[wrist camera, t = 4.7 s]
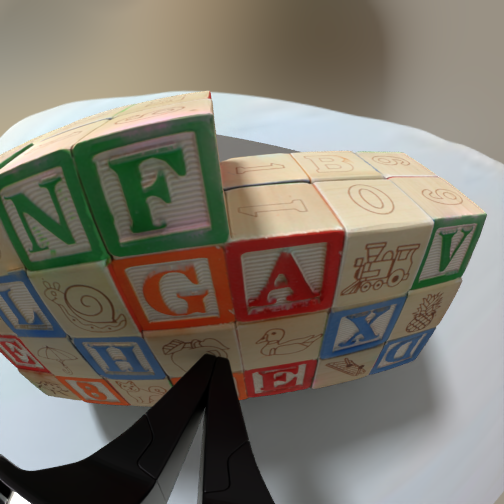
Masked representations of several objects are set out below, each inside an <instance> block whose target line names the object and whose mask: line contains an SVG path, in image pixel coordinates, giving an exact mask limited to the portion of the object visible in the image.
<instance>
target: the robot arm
mask: <svg viewBox="0 0 504 504" xmlns="http://www.w3.org/2000/svg"><path fill="white" fill-rule="evenodd" d="M205 407H206V408H205ZM204 411H205V415H204V424H203V435H202V446H201V458H200V471H199V484H198V499H197V504H275V503H274V501H273V499H272V497H271V495H270V493H269V491H268V489H267V487H266V484H265V482H264V480H263V478H262V476H261V474H260V471H259V469H258V466H257V464H256V461H255V458H254V455H253V452H252V448H251V445H250V441H248V440H249V438H248V434H247V430H246V427H245V423H244V419H243V415H242V411H241V407H240V403H239V399H238V395H237V391H236V387H235V382H234V378H233V374H232V370H231V365H230V361H229V359H228V358H225V357H220V356H218V357H216V356H215V355H212V354H208V353H205V354H204V355H203V356H202V357H201V358H200V359H199V360H198V361H197V362H196V363H195V364H194V365H193V366H192V367H191V368H190V369H189V370H188V371H187V372H186V373H185V374H184V375H183V376H182V377H181V378H180V379H179V380H178V381H177V382H176V383H175V384H174V385H173V386H172V387H171V388H170V389H169V390H168V391H167V392H166V393H165V394H164V395H163V396H162V397H161V398H160V399H159V400H158V401H157V402H156V403H155V404H154V405H153V406H152V407H151V408H150V409H149V410H148V411H147V412H146V415H145V414H144V415H143V416H142V417H141V418H140V419H139V420H138V421H137V422H136V423H135V424H133V425H132V426H131V427H130V428H129V429H128V430H126V431H125V432H124V433H123V434H121V435H120V436H119V437H117V438H116V439H114V440H113V441H112V442H110V443H109V444H107V445H106V446H104V447H103V448H101V449H100V450H98V451H97V452H95V453H94V454H92V455H91V456H89V457H87V458H85V459H83V460H81V461H78V462H75V463H71V464H67V465H62V466H58V467H53V468H47V469H42V470H36V471H26V470H22V469H20V468H19V467H17V466H16V465H15V464H13V463H12V462H11V461H9V460H8V459H7V458H5V457H4V456H3V455H1V454H0V504H167V501H168V499H169V497H170V494H171V492H172V490H173V487H174V485H175V482H176V480H177V478H178V475H179V473H180V470H181V468H182V465H183V463H184V461H185V458H186V456H187V453H188V451H189V448H190V446H191V443H192V441H193V438H194V436H195V434H196V431H197V429H198V426H199V424H200V421H201V419H202V416H203V413H204Z"/></svg>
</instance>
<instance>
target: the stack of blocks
mask: <svg viewBox="0 0 504 504" xmlns="http://www.w3.org/2000/svg"><path fill="white" fill-rule="evenodd" d="M486 216H487V214H486V213H485V212H484V211H483V210H482V209H481V208H480V207H478V206H477V205H476V204H475V203H474V202H472V201H471V200H470V199H469V198H467V197H466V196H465V195H464V194H463V193H461V192H460V191H459V190H458V189H456V188H455V187H454V186H453V185H451V184H450V183H449V182H447V181H446V180H445V179H443V178H441V177H438V176H437V175H436V174H434V173H433V172H432V171H430V170H429V169H427V168H426V167H424V166H423V165H422V164H420V163H418V162H417V161H415V160H414V159H412V158H411V157H409V156H408V155H406V154H405V153H402V152H356V153H353V152H352V151H325V152H299V153H291V154H284V153H277V154H266V155H256V156H247V157H239V158H231V159H228V160H225V161H222V162H220V160H219V153H218V145H217V138H216V130H215V122H214V113H213V103H212V100H211V93H210V91H203V92H195V93H189V94H182V95H177V96H171V97H166V98H161V99H156V100H151V101H147V102H142V103H138V104H131V105H127V106H123V107H119V108H115V109H112V110H108V111H105V112H102V113H98V114H95V115H92V116H89V117H86V118H83V119H80V120H78V121H75V122H73V123H71V124H69V125H66V126H64V127H61V128H59V129H56V130H53V131H51V132H48V133H46V134H44V135H41V136H39V137H37V138H34V139H32V140H30V141H28V142H26V143H24V144H22V145H20V146H17V147H15V148H13V149H11V150H9V151H7V152H5V153H3V154H1V155H0V352H1V353H2V354H3V355H4V356H5V357H6V358H7V359H8V360H9V361H10V362H11V363H12V364H13V365H14V366H15V367H17V368H18V371H19V372H20V373H21V374H22V375H23V376H24V377H25V378H26V379H28V380H29V381H30V382H31V383H32V384H33V385H35V386H36V387H37V388H39V389H40V390H41V391H42V392H43V393H45V394H46V395H48V396H54V397H60V398H66V399H73V400H83V401H84V402H88V403H97V404H110V405H127V406H128V405H133V406H147V407H152V406H153V405H154V404H155V403H156V402H157V401H158V400H159V399H160V398H161V397H162V396H163V395H164V394H165V393H166V392H167V391H168V390H169V389H170V388H171V387H172V386H173V385H174V384H175V383H176V382H177V381H178V380H179V379H180V378H181V377H182V376H183V375H184V374H185V373H186V372H187V371H188V370H189V369H190V368H191V367H192V366H193V365H194V364H195V363H196V362H197V361H198V360H199V359H200V358H201V357H202V356H203V355H204V354H205V353H208V354H212V355H215V356H216V357H218V356H220V357H225V358H228V359H229V361H230V365H231V370H232V374H233V378H234V382H235V387H236V391H237V395H238V399H239V400H244V399H247V398H249V397H259V396H268V395H275V394H281V393H285V392H293V391H297V390H303V389H307V388H312V389H317V388H322V387H326V386H331V385H335V384H339V383H343V382H347V381H351V380H355V379H359V378H362V377H365V376H367V375H370V374H375V373H379V372H382V371H385V370H388V369H391V368H394V367H397V366H400V365H403V364H406V363H409V362H411V361H413V360H415V359H416V357H417V356H418V355H419V353H420V352H421V350H422V349H423V347H424V346H425V344H426V343H427V341H428V340H429V338H430V337H431V335H432V334H433V332H434V331H435V329H436V326H437V325H438V324H439V323H440V322H441V320H442V318H443V316H444V315H445V313H446V311H447V310H448V308H449V306H450V304H451V303H452V301H453V299H454V297H455V295H456V293H457V291H458V289H459V287H460V285H461V283H462V278H461V276H462V275H463V273H464V272H465V269H466V267H467V265H468V263H469V261H470V258H471V256H472V253H473V251H474V249H475V246H476V244H477V242H478V239H479V237H480V234H481V231H482V228H483V225H484V222H485V219H486Z"/></svg>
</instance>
